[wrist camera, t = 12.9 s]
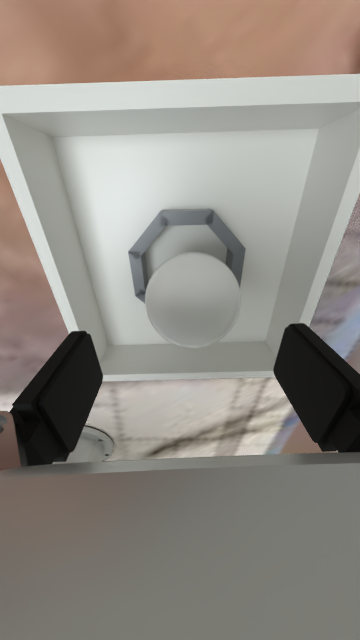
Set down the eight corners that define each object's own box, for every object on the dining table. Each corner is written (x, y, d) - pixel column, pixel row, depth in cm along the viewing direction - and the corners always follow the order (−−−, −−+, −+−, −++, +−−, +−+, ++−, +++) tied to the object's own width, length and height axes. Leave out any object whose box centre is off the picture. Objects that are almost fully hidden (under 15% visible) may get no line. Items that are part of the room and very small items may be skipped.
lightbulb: (187, 306, 23) (193, 383, 13) (143, 267, 20) (113, 327, 11) (232, 266, 20) (278, 325, 11) (188, 217, 18) (198, 239, 9)
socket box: (268, 342, 27) (289, 376, 22) (105, 346, 27) (88, 381, 22) (328, 114, 15) (405, 72, 10) (40, 123, 15) (-28, 86, 10)
